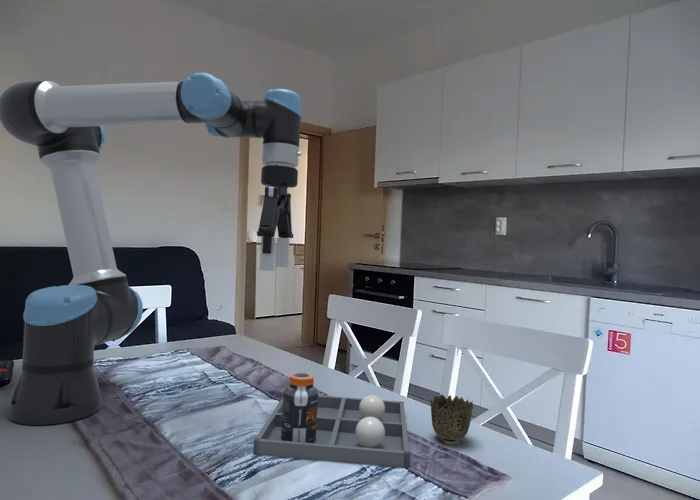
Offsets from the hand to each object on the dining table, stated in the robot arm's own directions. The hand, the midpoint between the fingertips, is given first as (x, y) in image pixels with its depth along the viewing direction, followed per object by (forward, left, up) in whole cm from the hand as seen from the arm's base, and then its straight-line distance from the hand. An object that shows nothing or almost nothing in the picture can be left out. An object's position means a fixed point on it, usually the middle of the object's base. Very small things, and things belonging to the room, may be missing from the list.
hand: (274, 269), depth 101 cm
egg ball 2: (+22, -19, -28) cm, 40 cm away
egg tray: (+16, -13, -29) cm, 35 cm away
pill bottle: (+10, -19, -28) cm, 35 cm away
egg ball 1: (+22, -7, -28) cm, 36 cm away
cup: (+36, -13, -29) cm, 48 cm away
